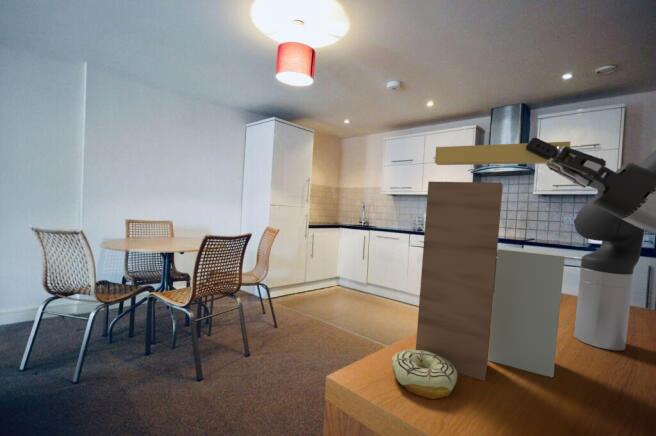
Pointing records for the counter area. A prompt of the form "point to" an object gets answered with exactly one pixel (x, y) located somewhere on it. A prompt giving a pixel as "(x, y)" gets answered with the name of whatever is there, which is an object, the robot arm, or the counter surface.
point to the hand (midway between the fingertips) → (529, 145)
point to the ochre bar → (491, 154)
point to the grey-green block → (526, 309)
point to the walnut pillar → (459, 273)
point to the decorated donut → (424, 373)
